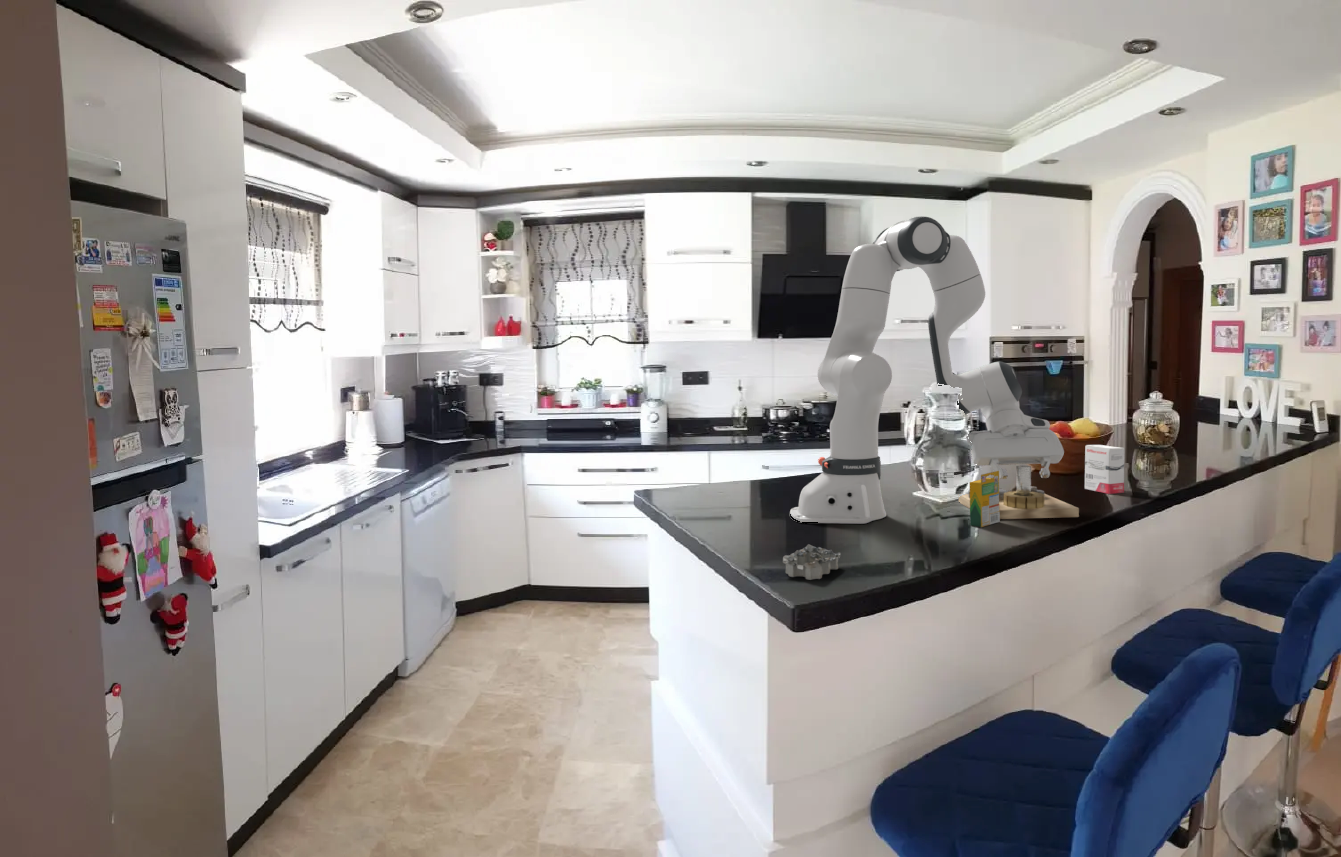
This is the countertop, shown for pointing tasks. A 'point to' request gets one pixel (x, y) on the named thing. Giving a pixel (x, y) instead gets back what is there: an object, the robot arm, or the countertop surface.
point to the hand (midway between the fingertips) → (1024, 476)
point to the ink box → (1104, 469)
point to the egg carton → (811, 562)
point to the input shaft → (1023, 480)
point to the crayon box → (984, 500)
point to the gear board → (1033, 513)
